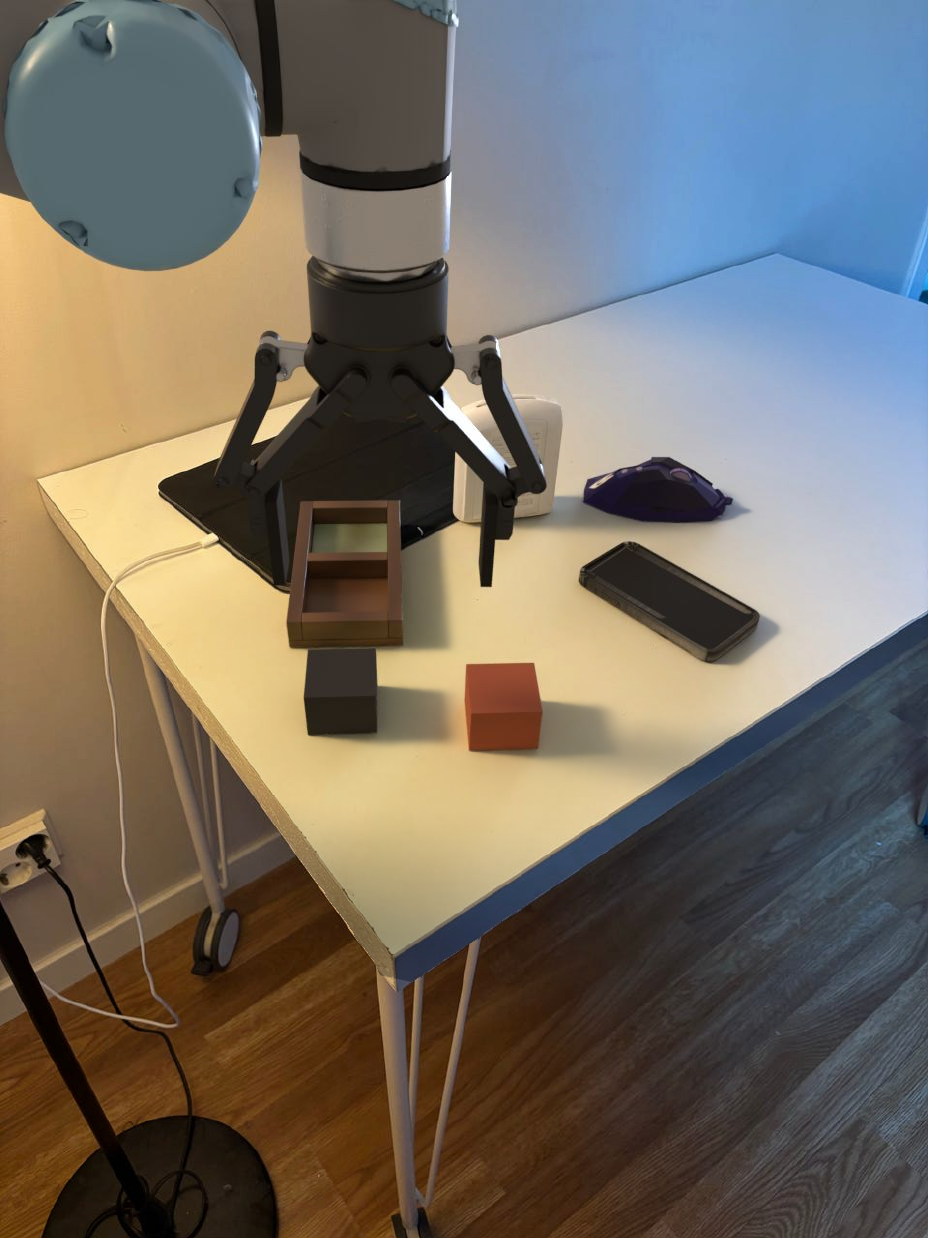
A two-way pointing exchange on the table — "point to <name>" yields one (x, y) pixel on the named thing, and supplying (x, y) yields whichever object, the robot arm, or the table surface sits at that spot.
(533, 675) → the pad
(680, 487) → the computer mouse
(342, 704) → the black block
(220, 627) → the table surface
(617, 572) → the phone
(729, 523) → the table surface
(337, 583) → the frame
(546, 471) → the photo printer
